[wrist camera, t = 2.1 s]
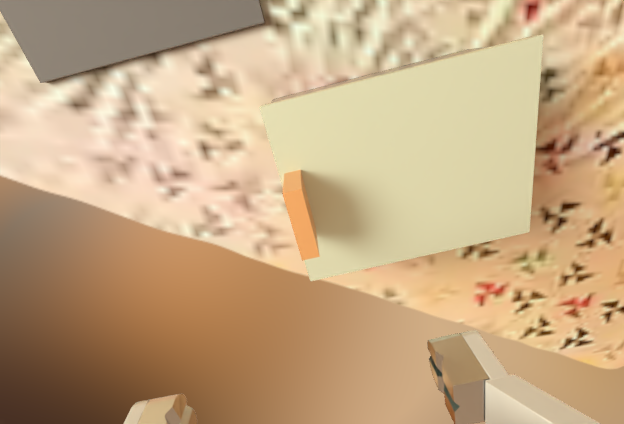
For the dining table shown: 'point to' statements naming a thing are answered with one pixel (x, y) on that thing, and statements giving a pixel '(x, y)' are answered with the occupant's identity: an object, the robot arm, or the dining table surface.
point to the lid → (410, 159)
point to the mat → (116, 29)
